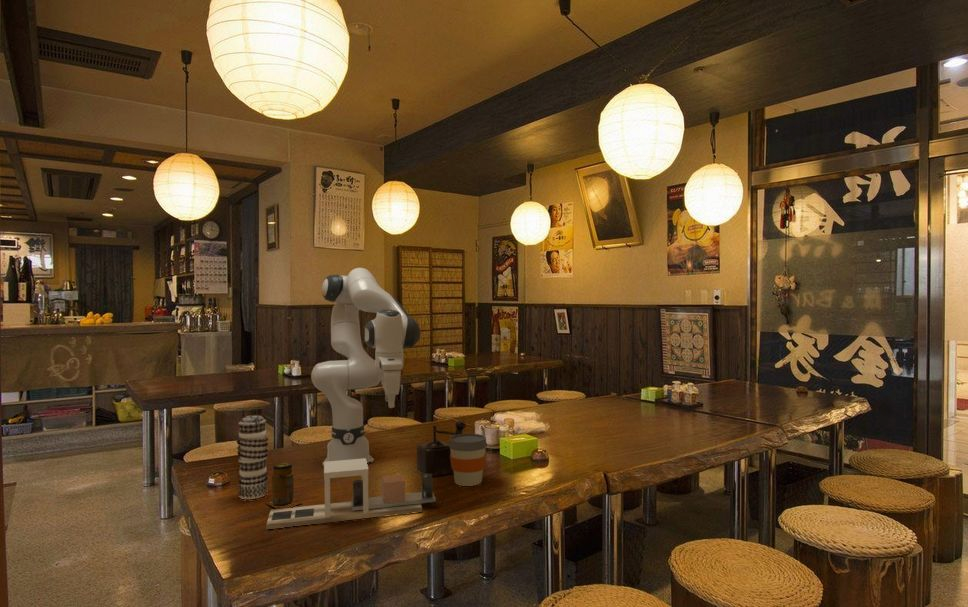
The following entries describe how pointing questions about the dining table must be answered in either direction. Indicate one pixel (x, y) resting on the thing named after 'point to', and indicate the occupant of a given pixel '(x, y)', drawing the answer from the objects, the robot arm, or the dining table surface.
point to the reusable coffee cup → (468, 458)
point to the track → (337, 513)
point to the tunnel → (345, 470)
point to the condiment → (282, 484)
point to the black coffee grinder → (436, 454)
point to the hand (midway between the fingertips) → (389, 404)
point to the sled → (393, 493)
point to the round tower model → (252, 457)
